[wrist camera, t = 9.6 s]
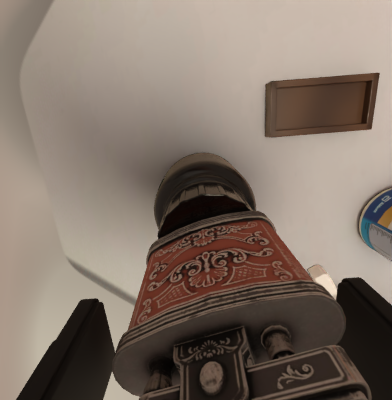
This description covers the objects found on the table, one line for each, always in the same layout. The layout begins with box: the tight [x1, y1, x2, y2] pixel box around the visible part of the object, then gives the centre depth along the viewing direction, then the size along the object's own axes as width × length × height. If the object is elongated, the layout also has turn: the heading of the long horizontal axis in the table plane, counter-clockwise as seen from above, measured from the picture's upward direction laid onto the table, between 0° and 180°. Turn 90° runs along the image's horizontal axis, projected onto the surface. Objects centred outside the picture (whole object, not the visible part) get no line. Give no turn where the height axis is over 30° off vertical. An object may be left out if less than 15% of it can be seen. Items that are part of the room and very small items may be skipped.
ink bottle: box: [154, 153, 256, 240], centre depth 21 cm, size 10×9×12 cm
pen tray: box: [265, 73, 380, 137], centre depth 23 cm, size 10×5×2 cm, turn 94°
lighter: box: [112, 211, 372, 400], centre depth 10 cm, size 8×3×10 cm, turn 108°
